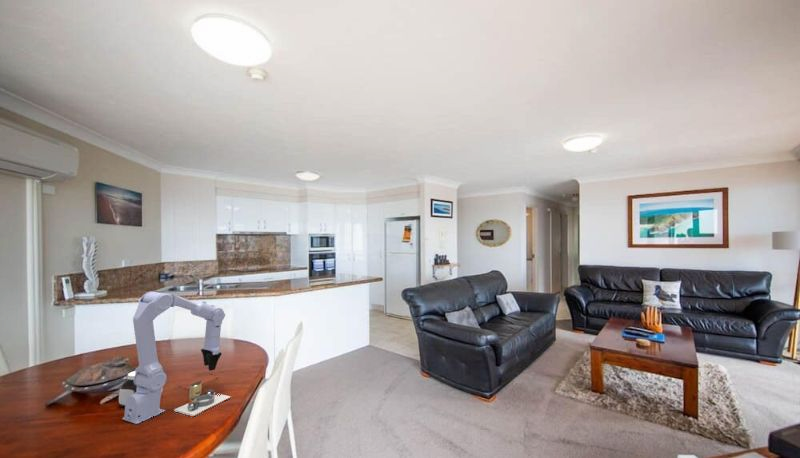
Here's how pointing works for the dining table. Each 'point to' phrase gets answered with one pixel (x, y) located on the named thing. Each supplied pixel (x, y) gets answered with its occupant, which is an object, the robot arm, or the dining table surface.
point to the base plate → (192, 413)
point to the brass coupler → (195, 390)
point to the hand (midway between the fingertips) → (209, 367)
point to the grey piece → (209, 392)
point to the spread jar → (128, 389)
